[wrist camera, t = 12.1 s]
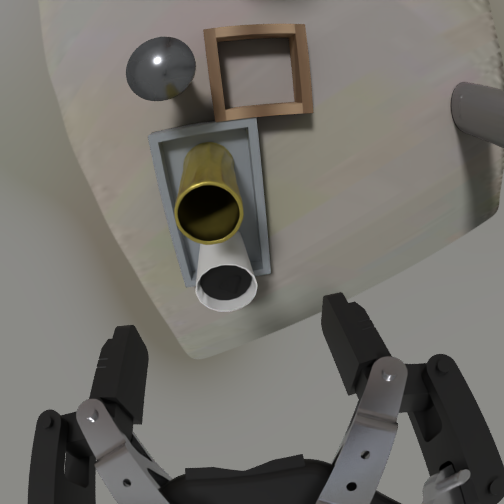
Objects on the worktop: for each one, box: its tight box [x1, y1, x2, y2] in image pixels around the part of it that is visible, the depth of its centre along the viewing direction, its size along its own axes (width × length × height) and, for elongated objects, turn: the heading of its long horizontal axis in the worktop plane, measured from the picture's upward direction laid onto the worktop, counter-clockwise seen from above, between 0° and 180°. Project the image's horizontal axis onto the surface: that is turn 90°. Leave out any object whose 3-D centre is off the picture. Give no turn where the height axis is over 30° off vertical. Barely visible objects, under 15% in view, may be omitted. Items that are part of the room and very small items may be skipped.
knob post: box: [126, 37, 196, 101], centre depth 23 cm, size 6×6×9 cm
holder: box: [203, 24, 313, 122], centre depth 27 cm, size 11×11×3 cm
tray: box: [148, 117, 271, 287], centre depth 35 cm, size 12×21×3 cm, turn 6°
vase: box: [174, 142, 244, 245], centre depth 27 cm, size 6×6×14 cm
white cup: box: [196, 231, 258, 312], centre depth 34 cm, size 7×7×10 cm
